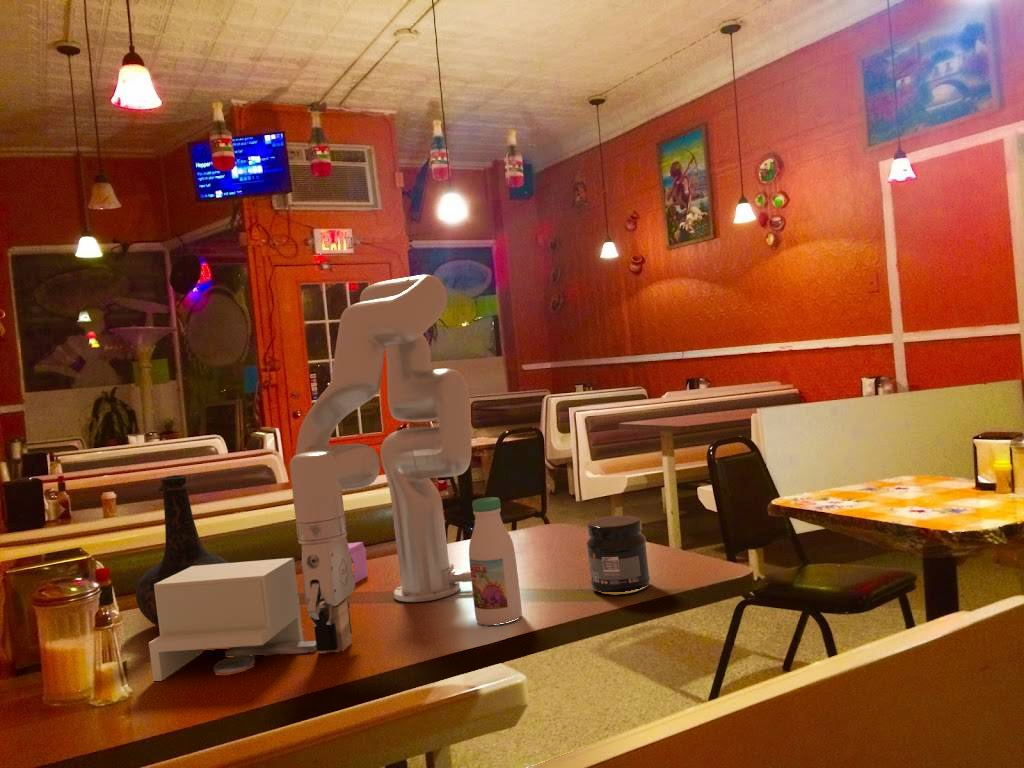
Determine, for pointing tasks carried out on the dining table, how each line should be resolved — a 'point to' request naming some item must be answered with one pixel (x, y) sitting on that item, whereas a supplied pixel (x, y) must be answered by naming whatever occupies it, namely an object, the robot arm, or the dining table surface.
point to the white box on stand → (224, 610)
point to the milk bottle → (493, 566)
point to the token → (234, 664)
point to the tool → (342, 634)
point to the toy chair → (358, 560)
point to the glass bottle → (174, 545)
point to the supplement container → (617, 554)
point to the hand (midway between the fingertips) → (334, 641)
